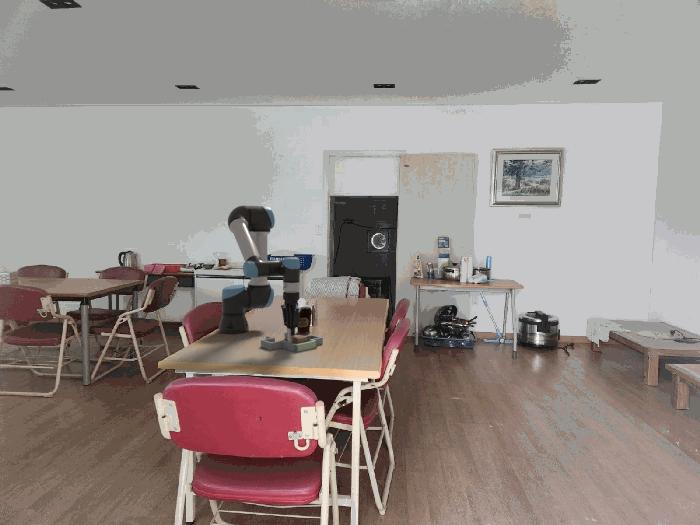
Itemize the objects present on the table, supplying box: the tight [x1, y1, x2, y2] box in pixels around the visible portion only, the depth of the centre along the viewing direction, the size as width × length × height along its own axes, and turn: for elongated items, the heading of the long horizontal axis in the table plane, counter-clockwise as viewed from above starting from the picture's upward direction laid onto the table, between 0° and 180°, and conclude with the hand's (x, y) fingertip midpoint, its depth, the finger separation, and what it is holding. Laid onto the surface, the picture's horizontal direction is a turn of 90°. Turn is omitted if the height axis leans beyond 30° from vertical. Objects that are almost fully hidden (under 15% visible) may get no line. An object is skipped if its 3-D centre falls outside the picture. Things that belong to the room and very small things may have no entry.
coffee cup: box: [296, 306, 313, 335], centre depth 244 cm, size 9×8×13 cm
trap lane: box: [260, 331, 324, 353], centre depth 220 cm, size 23×24×3 cm
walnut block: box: [291, 334, 307, 344], centre depth 215 cm, size 5×5×5 cm
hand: (291, 342), depth 220 cm, fingers closed
